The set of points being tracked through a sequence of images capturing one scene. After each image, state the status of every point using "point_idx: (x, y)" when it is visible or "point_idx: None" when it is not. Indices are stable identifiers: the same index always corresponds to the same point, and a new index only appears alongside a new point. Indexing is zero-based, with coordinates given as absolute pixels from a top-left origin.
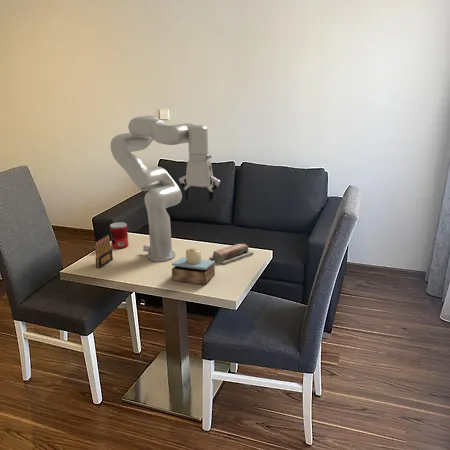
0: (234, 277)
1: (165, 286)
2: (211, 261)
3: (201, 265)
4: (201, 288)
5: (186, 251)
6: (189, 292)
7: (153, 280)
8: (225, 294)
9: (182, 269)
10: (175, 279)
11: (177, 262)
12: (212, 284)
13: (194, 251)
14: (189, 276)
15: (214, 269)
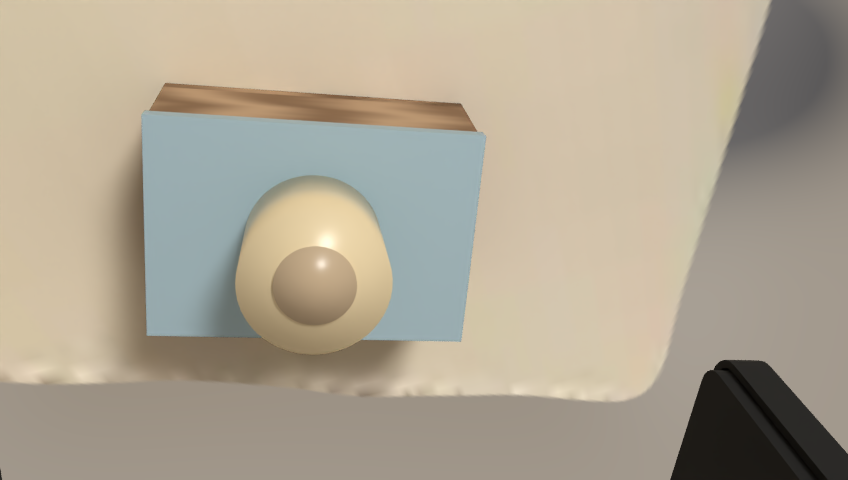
0: (618, 105)
1: (169, 355)
2: (460, 157)
3: (409, 297)
4: None
5: (258, 332)
6: (362, 386)
7: (28, 297)
8: (587, 353)
9: None
10: None
11: (178, 290)
12: (479, 251)
13: (339, 318)
14: None
15: (470, 123)
